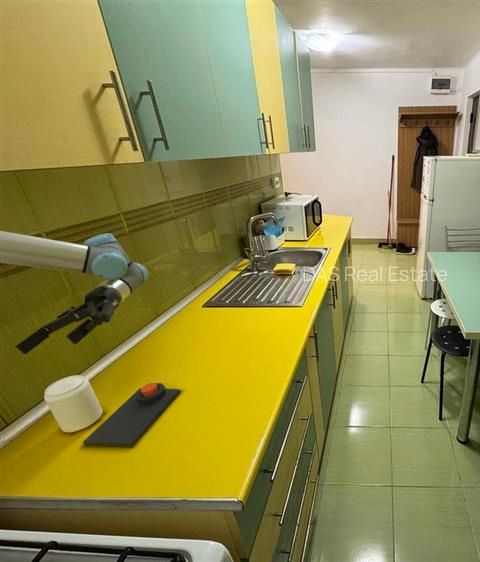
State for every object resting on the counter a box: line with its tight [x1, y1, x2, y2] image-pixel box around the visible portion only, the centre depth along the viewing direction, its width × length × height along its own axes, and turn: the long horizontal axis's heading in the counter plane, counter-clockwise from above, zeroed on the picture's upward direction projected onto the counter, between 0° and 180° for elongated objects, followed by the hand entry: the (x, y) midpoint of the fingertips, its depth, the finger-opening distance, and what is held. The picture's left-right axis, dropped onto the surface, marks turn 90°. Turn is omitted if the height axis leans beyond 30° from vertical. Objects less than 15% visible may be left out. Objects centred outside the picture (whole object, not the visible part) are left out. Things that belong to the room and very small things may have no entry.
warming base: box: [82, 382, 181, 448], centre depth 80 cm, size 18×12×3 cm, turn 178°
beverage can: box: [43, 374, 104, 433], centre depth 77 cm, size 8×8×12 cm
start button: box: [140, 382, 158, 397], centre depth 85 cm, size 4×4×2 cm
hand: (45, 345), depth 74 cm, fingers open, 13 cm apart
